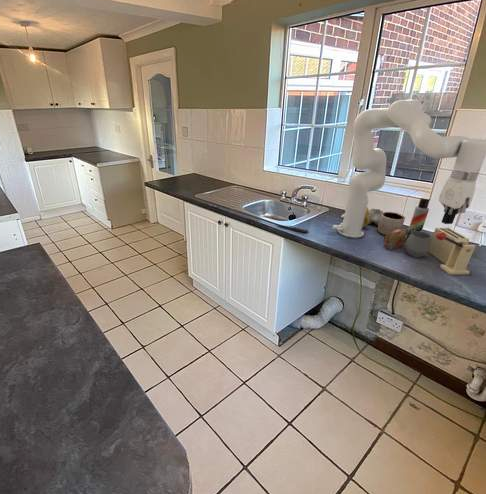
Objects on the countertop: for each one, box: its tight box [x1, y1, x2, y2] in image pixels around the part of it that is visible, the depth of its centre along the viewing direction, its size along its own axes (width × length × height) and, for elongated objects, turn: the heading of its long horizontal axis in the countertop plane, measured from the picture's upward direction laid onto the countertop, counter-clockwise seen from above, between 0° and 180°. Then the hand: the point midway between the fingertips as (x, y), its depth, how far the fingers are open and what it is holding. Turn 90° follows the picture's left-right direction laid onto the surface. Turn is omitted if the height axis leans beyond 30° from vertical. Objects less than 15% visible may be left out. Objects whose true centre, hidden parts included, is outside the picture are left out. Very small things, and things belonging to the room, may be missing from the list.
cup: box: [404, 231, 432, 258], centre depth 137 cm, size 10×9×10 cm
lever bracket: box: [439, 240, 477, 275], centre depth 124 cm, size 8×6×13 cm
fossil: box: [368, 208, 384, 226], centre depth 174 cm, size 18×11×15 cm
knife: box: [276, 225, 308, 234], centre depth 165 cm, size 17×1×3 cm
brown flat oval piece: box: [383, 228, 409, 251], centre depth 145 cm, size 15×3×8 cm, turn 117°
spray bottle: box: [407, 197, 431, 237], centre depth 153 cm, size 6×6×20 cm
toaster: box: [427, 227, 470, 265], centre depth 134 cm, size 6×12×12 cm, turn 1°
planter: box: [377, 211, 406, 236], centre depth 159 cm, size 11×11×10 cm
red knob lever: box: [436, 232, 466, 249], centre depth 121 cm, size 15×3×3 cm, turn 92°
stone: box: [362, 206, 370, 228], centre depth 165 cm, size 13×10×10 cm
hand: (446, 223), depth 117 cm, fingers closed
